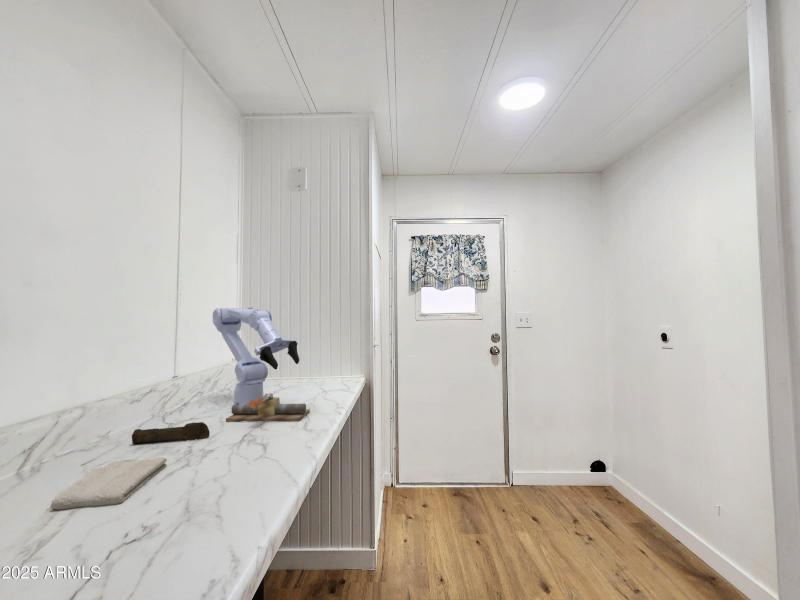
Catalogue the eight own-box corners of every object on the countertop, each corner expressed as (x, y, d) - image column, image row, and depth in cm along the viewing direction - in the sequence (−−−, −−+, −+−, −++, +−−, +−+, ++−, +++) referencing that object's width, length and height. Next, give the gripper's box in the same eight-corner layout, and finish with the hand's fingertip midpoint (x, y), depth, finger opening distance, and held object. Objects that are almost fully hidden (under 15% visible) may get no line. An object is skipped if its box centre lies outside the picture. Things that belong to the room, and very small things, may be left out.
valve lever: (266, 397, 122) (266, 392, 122) (274, 397, 122) (274, 392, 122) (247, 407, 109) (247, 402, 109) (256, 407, 109) (256, 402, 109)
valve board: (225, 421, 116) (225, 402, 116) (241, 413, 126) (241, 395, 126) (299, 421, 114) (298, 401, 115) (309, 412, 124) (309, 394, 125)
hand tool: (130, 446, 97) (129, 429, 97) (139, 441, 101) (139, 424, 101) (205, 442, 99) (204, 425, 99) (211, 437, 103) (210, 420, 103)
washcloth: (169, 466, 84) (169, 452, 84) (122, 507, 66) (122, 490, 66) (112, 471, 82) (112, 457, 82) (48, 515, 64) (48, 497, 65)
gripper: (251, 331, 120) (268, 361, 113) (292, 324, 130) (310, 351, 123) (248, 346, 123) (264, 376, 116) (287, 338, 133) (304, 365, 127)
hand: (287, 364), depth 120 cm, fingers open, 7 cm apart
